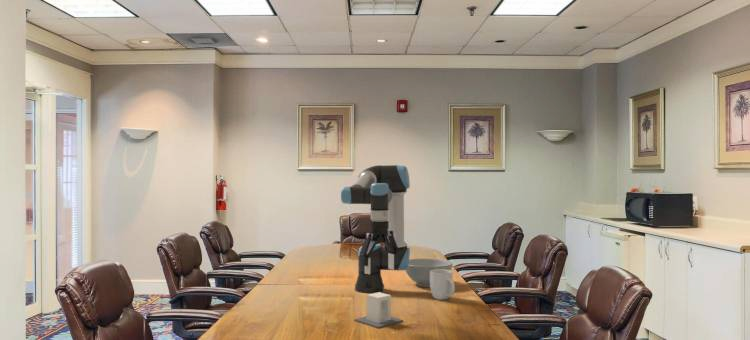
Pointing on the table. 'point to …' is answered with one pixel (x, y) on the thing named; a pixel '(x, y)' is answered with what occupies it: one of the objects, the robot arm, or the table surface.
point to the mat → (378, 325)
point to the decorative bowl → (425, 269)
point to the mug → (441, 284)
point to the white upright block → (378, 307)
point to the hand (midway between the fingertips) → (379, 271)
